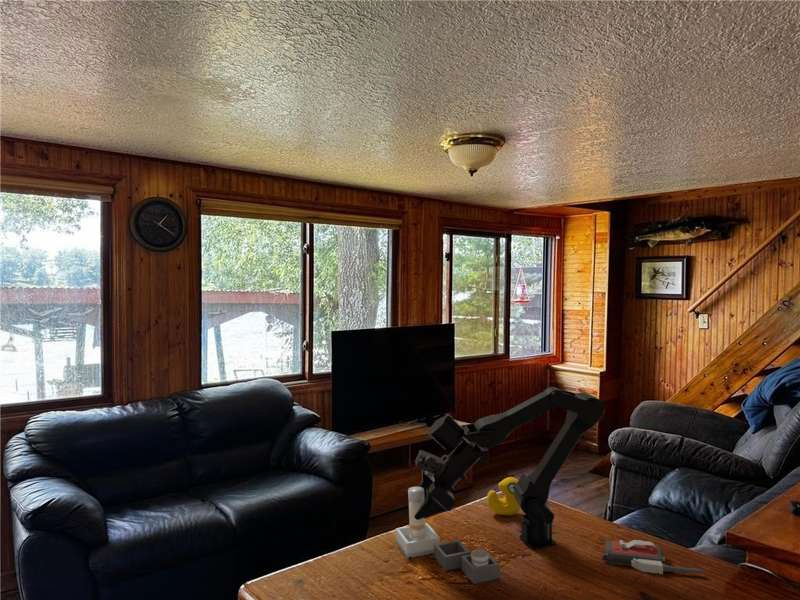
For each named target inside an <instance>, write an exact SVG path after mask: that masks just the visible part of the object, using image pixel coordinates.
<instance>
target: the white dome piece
mask: <svg viewBox="0 0 800 600" xmlns="http://www.w3.org/2000/svg"><path fill="white" fill-rule="evenodd" d="M470 554H471V560H472V565H473V566H474V567H475V568H476V567H481V566H485V565H488V561H489V555H490V554H489V552H488V551H486V550H485V549H480V548H479V549H473V550H472V551H470Z"/></svg>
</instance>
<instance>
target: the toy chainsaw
mask: <svg viewBox="0 0 800 600" xmlns="http://www.w3.org/2000/svg"><path fill="white" fill-rule="evenodd" d="M601 559H602V561H603V562H607V563H609V564H611V565H612V564H613V565H620V566H629V567H633V569H635V570H638V571H640V572H642V573H649V572H650V573H651V574H658V573H659V575H664V572H667V573H669V572H673V573H682V574H689V573H694V574H704V571H703V570H702V569H701V568H699V569H698V568H692V567H682V566H681V567H680V566H671V565H667V564H665V563H663V562H665V561H666V560H665V553H664V550H663V549H660V547H659V545H656V544H655V543H654V542H652V541H649V540H640V539H638V540H637V539H633V540H631V541H629V542H628V541H624V540H622V539H619V541H617V540H608V539H607V540H605V554H603V555H602V556H601Z"/></svg>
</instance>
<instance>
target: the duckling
mask: <svg viewBox="0 0 800 600" xmlns="http://www.w3.org/2000/svg"><path fill="white" fill-rule="evenodd" d="M518 481H519V479H517V478H516V477H514V476H508V477H506V478H504V479H502V480H501V481H500V482H499V483H498V488H499V490H500V491H501V493H502V494H503V495H504V496H503V497H501V498H500V497H498V494H497V491H495V490H494V489H492V490H489V491H488V493H487V495H486V502H487V507H488V508H489V509H490V511H492V512H493V513H495V514H498V515H500V516H513V515H516V514H517V513H518V512H520V511H521V510H522V509H521V508H520V506H519V505H518V503H517V501H516V500H515V497H514V490H515V486H514V485H515V484H516V483H517V482H518Z"/></svg>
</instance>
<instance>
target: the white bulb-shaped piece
mask: <svg viewBox="0 0 800 600" xmlns="http://www.w3.org/2000/svg"><path fill="white" fill-rule="evenodd" d="M407 489H408V490H407V494H408V495H407V496H408V498H407V499H408V517H409V525H408V526H409V527H410V533H409V537H410V542H411V541H416V540H422V539H425V523H426V522H425V518H422V519H419V520H416V519H415V518H414V516H415V514H416V513H417V511H418V510H419V508H420V507H421V505H422V504H423V503H424V501H425V498H424V489H423V488H422V487H419V486H411V487H409V488H407Z"/></svg>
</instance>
